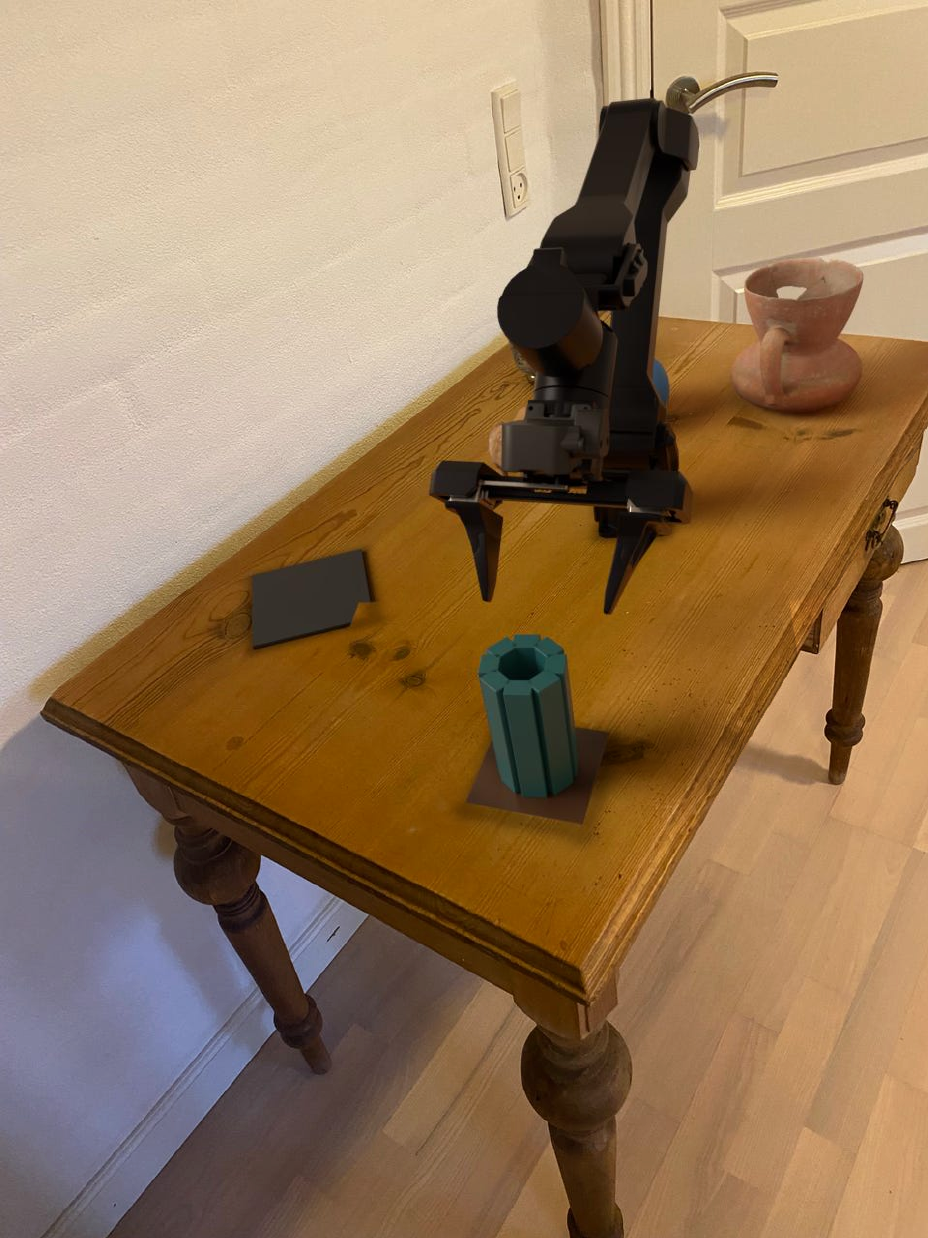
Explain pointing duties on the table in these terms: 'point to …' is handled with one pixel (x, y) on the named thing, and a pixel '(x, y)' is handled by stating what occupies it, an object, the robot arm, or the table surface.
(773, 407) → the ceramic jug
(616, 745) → the table surface
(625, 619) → the table surface
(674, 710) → the table surface
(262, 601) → the mat
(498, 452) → the lion figurine
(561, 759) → the sleeve
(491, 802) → the peg stand
